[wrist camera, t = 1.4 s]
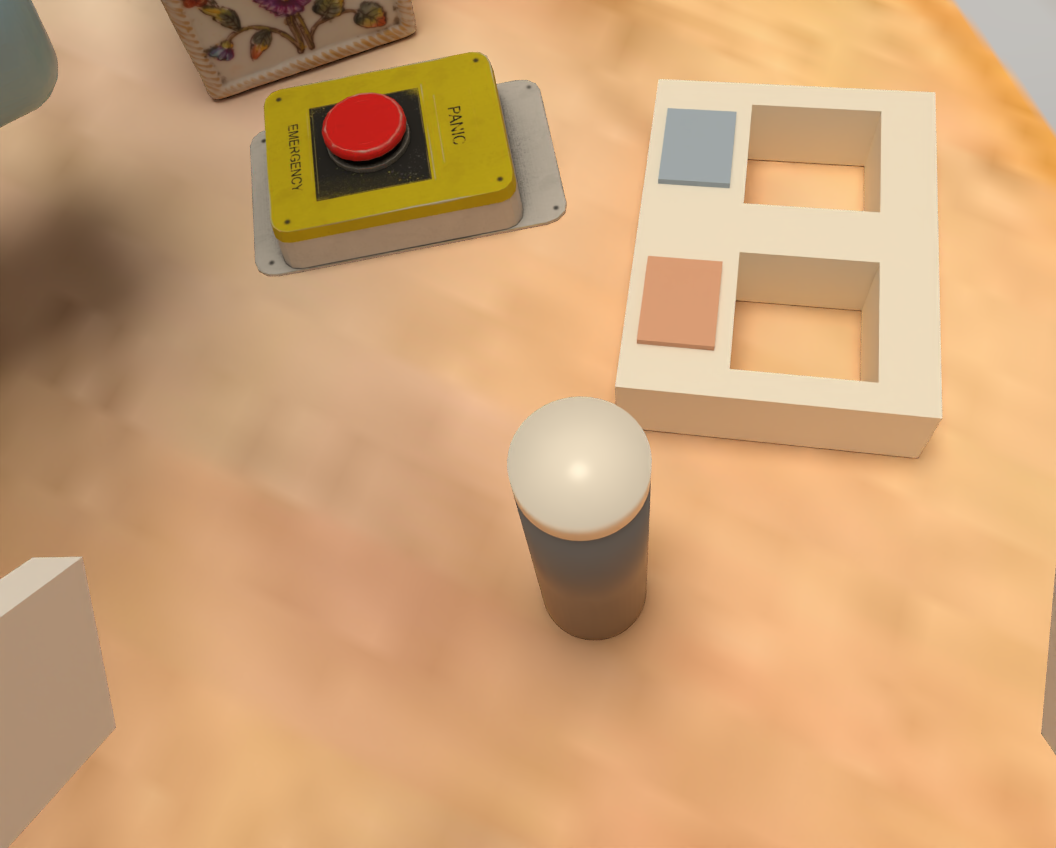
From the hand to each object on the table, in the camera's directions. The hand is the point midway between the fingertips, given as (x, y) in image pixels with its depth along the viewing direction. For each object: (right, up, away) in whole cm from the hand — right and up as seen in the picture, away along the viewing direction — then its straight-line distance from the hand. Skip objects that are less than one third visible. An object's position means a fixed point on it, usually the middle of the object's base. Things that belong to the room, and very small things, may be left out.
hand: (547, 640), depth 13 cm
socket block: (+11, +9, +30) cm, 33 cm away
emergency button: (-6, +15, +35) cm, 39 cm away
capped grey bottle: (+2, -3, +25) cm, 25 cm away
